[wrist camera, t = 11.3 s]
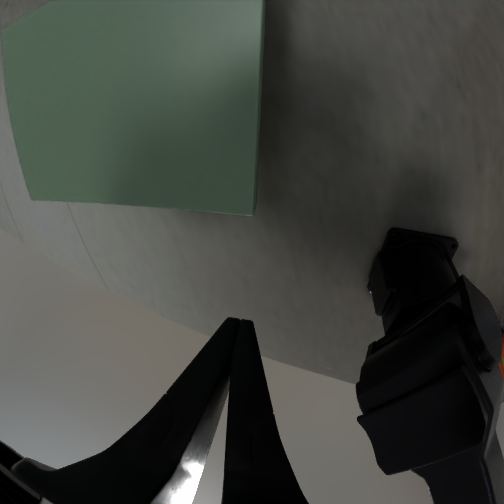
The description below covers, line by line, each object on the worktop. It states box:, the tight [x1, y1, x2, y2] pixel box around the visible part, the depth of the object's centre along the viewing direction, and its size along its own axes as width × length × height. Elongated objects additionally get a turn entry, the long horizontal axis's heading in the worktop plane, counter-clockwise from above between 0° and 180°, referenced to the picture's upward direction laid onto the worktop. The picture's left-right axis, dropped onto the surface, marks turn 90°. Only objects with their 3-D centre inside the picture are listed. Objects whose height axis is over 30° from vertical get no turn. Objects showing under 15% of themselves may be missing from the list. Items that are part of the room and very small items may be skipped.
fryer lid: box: [2, 0, 266, 216], centre depth 10 cm, size 14×12×1 cm
